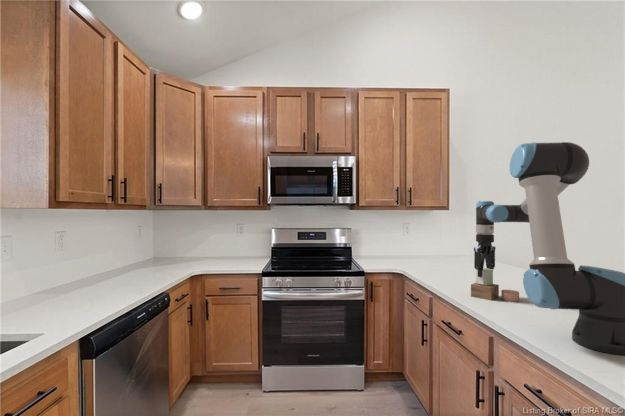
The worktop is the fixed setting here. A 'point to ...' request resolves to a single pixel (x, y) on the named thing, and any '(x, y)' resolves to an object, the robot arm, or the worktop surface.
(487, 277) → the green block
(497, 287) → the walnut block
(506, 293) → the brown rounded block
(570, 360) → the worktop surface
